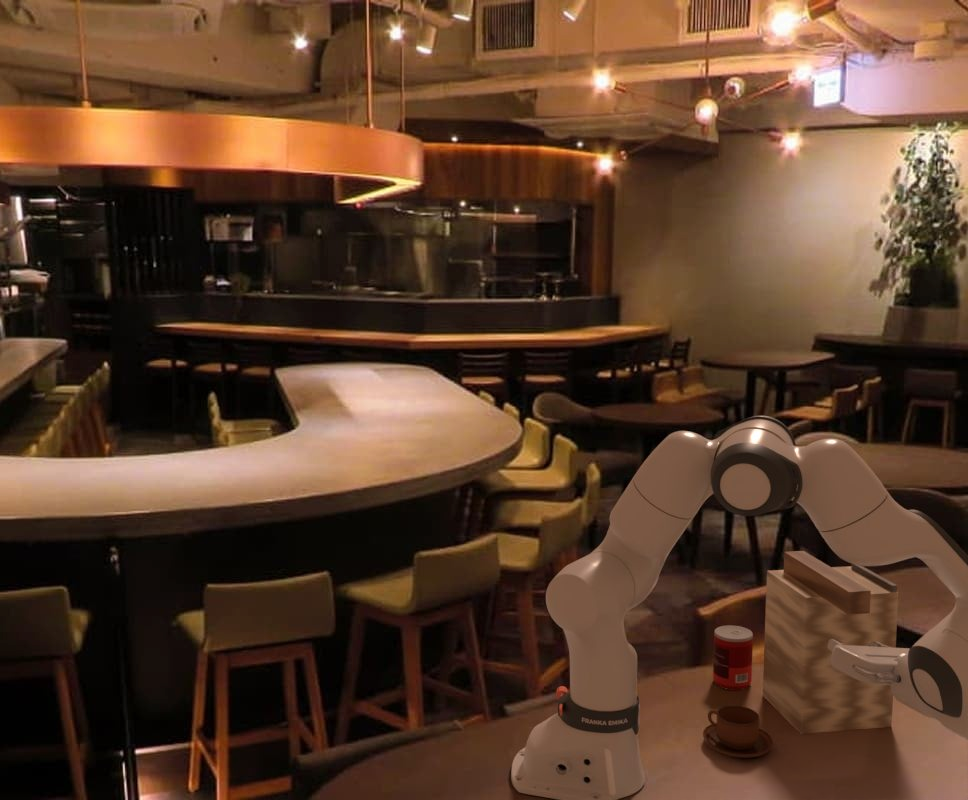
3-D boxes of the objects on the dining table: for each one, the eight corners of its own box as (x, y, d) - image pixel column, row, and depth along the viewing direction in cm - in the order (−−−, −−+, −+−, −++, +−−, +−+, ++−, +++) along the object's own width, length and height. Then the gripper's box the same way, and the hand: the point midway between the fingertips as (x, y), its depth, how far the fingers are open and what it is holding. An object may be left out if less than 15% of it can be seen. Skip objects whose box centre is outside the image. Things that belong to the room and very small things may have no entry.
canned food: (755, 679, 192) (757, 629, 191) (744, 694, 186) (746, 642, 184) (720, 671, 196) (721, 622, 195) (707, 685, 190) (709, 634, 188)
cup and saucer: (695, 754, 162) (695, 721, 162) (711, 725, 173) (712, 694, 172) (764, 770, 157) (765, 736, 156) (777, 740, 167) (778, 708, 167)
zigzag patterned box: (800, 733, 169) (806, 591, 166) (762, 695, 185) (767, 564, 181) (891, 726, 172) (898, 586, 168) (846, 689, 187) (852, 560, 184)
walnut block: (847, 614, 157) (849, 591, 157) (783, 571, 181) (784, 551, 181) (869, 613, 158) (870, 590, 157) (802, 570, 182) (803, 550, 181)
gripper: (867, 699, 138) (801, 660, 151) (957, 700, 147) (888, 664, 159) (877, 659, 138) (810, 623, 150) (967, 663, 146) (897, 629, 159)
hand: (851, 644), depth 155 cm, fingers open, 8 cm apart
